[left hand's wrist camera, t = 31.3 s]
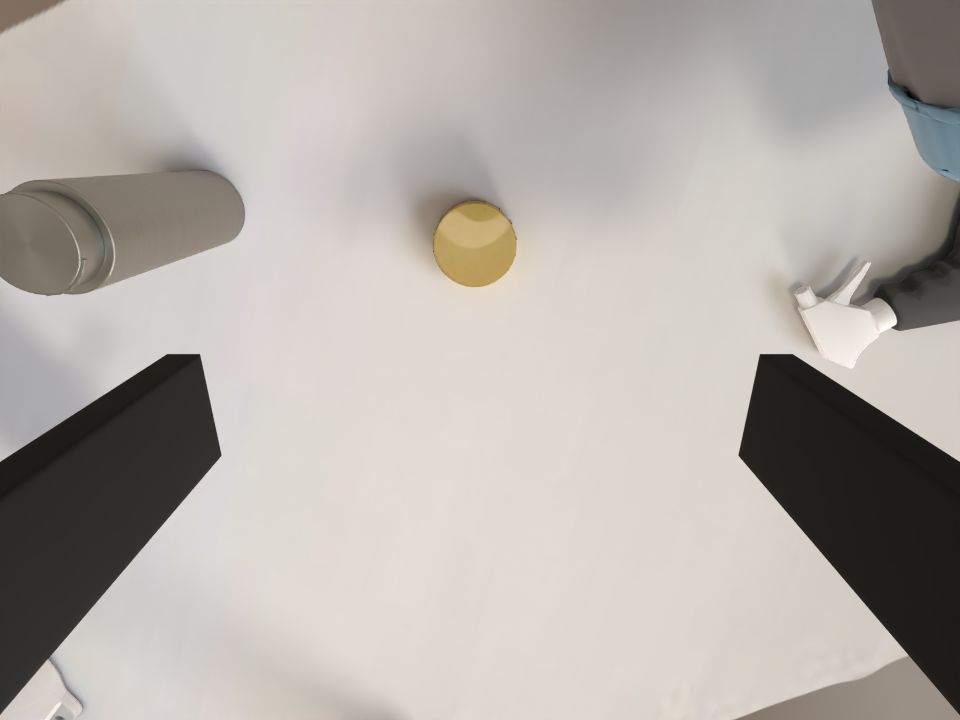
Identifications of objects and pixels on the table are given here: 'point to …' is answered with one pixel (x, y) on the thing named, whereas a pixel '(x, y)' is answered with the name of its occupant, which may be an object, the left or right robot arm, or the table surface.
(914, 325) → the spray bottle
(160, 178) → the jar
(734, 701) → the table surface
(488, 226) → the lid
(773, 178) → the table surface
